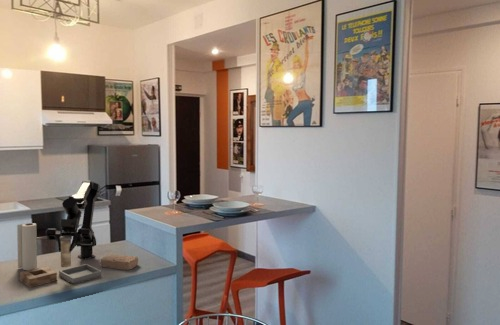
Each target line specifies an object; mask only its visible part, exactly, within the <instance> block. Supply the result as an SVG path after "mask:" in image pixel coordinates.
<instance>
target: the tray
mask: <svg viewBox="0 0 500 325" xmlns="http://www.w3.org/2000/svg"><path fill="white" fill-rule="evenodd" d="M58 276H59V277H60V278H61V277H62V278H61V279H63V280H65V281H67V282H68V281H69V282H68V283H70V284H72V285H75V284H79V283H83V282H85V281H89V280H93V279H97V278H101V277H102V270H100V269H99V268H96V267H94V266H92V265H89V264H88V263H86V264H81V265H77V266H72V267H67V268H65V269H62V270H58ZM82 281H83V282H82Z"/></svg>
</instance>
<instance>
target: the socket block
mask: <svg viewBox="0 0 500 325" xmlns="http://www.w3.org/2000/svg"><path fill="white" fill-rule="evenodd" d="M57 275H58V273H57V271H55V270H53V269H51V268H49V267H48V266H42V267H37V268H36V269H32V270H23V271H21V272H19V281H21V282H22V283H23V284H25V285H26V286H28V287H29V288H33V287H36V286H41V285H44V284H48V283H51V282H55V281H57V280H58V277H57Z"/></svg>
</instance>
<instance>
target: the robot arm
mask: <svg viewBox="0 0 500 325" xmlns="http://www.w3.org/2000/svg"><path fill="white" fill-rule="evenodd" d="M100 193H101V186H100V184H99V183H96V182H94V181H92V180H82V182H81V185H80V187H79V189H78V191H77V192H76V193H75V194H72V195H71V196H68V198H66V199H65V200H64V201H62V204H61V205H62V207H63V210H64V212H65V214H66V218H61V219H60V222H59V223H60V224H59V227H60V228H61V230H58V229H57V228H47V229H46V230H45V236H46V238H47V240H49V241H56V242H57V247H58V252H59V253H61V240H60V237H61V236H66V235H69V236H72V239H71V246H70V250H69V251H70V252H71V253H72V251H73V250H74V249H75V248H76V247H80V254H79V255H77V258H80V259H82V260H88V259H91V258H92V257H93V258H95V257H96V255H94V254H93V253H94V252H93V248H94V247H95V246H97V238H96V236H95V231H94V230H93V227H92V225H93V220H94V218H93V217H94V211H95V204H96V203H95V202H96V200H97V199H98V198H99V195H100ZM82 210H83V211H84V212H83V213H82ZM82 214H83V218H82ZM81 218H82V224H81V227H80V221H81Z"/></svg>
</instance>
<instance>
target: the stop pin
mask: <svg viewBox="0 0 500 325" xmlns="http://www.w3.org/2000/svg"><path fill="white" fill-rule="evenodd" d="M60 240H61V252H60V267H61V268H70V267H71V266H72V251H71V252H70V251H69V250H70V246H71V243H72V240H73V236H69V235H66V236H61V237H60Z"/></svg>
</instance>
